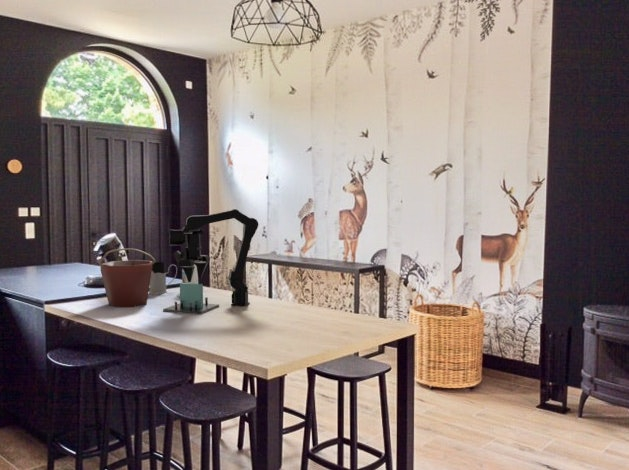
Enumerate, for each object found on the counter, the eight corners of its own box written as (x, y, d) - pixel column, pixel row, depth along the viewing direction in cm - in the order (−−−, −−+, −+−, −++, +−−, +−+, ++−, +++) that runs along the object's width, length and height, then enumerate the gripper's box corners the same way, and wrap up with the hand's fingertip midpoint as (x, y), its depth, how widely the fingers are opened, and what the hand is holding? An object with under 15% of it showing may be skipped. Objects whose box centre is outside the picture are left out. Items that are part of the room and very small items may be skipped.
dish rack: (219, 306, 254) (218, 297, 254) (201, 314, 239) (200, 304, 239) (183, 304, 260) (182, 295, 260) (163, 311, 245) (163, 302, 245)
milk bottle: (200, 291, 295) (199, 251, 293) (195, 293, 287) (194, 253, 286) (185, 290, 296) (184, 251, 294) (180, 293, 288) (179, 253, 287)
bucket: (92, 308, 252) (91, 251, 250) (109, 299, 274) (107, 246, 272) (149, 308, 252) (148, 250, 250) (161, 298, 274) (160, 246, 272)
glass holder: (147, 292, 293) (146, 262, 292) (175, 289, 299) (175, 261, 298) (150, 294, 285) (149, 264, 284) (179, 292, 291) (178, 262, 290)
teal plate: (203, 306, 249) (202, 283, 248) (200, 307, 247) (200, 284, 246) (182, 305, 252) (182, 282, 251) (180, 306, 250) (179, 283, 249)
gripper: (187, 242, 263) (188, 276, 264) (165, 246, 245) (167, 283, 246) (209, 242, 260) (210, 277, 261) (189, 247, 242) (190, 284, 243)
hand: (194, 280), depth 253 cm, fingers open, 9 cm apart
